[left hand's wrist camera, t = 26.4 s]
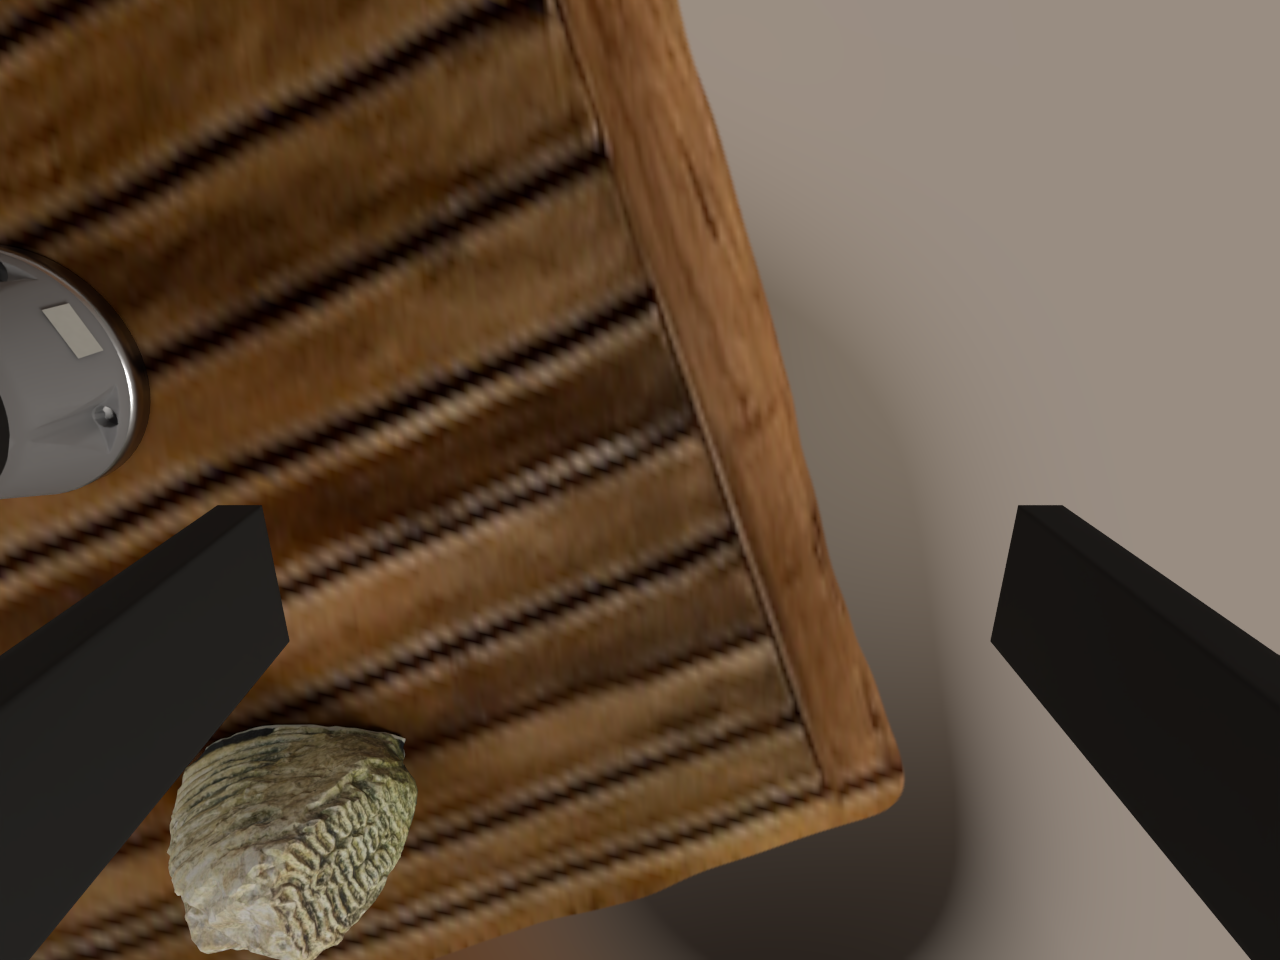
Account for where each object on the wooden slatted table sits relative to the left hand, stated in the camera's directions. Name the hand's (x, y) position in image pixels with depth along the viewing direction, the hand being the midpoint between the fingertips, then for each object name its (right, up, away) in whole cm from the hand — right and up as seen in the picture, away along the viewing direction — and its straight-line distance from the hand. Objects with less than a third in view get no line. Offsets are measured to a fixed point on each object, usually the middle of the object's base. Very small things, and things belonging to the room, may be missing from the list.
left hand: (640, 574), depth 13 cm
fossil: (-25, -20, +43) cm, 54 cm away
